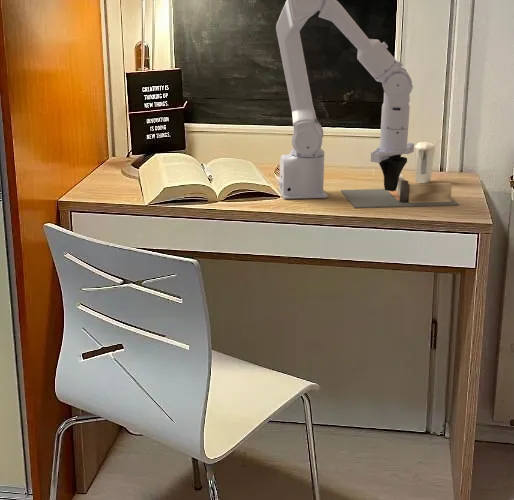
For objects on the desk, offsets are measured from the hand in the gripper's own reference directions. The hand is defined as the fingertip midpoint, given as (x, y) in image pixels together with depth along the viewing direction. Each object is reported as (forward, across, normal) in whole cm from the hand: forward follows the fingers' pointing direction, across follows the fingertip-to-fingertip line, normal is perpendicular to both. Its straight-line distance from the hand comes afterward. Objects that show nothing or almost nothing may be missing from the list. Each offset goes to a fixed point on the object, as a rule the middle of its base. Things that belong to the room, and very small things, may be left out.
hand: (390, 190), depth 193 cm
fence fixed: (+1, +1, -8) cm, 8 cm away
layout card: (+2, 0, -2) cm, 2 cm away
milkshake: (+2, +17, +1) cm, 17 cm away
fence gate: (+1, +2, -1) cm, 2 cm away
